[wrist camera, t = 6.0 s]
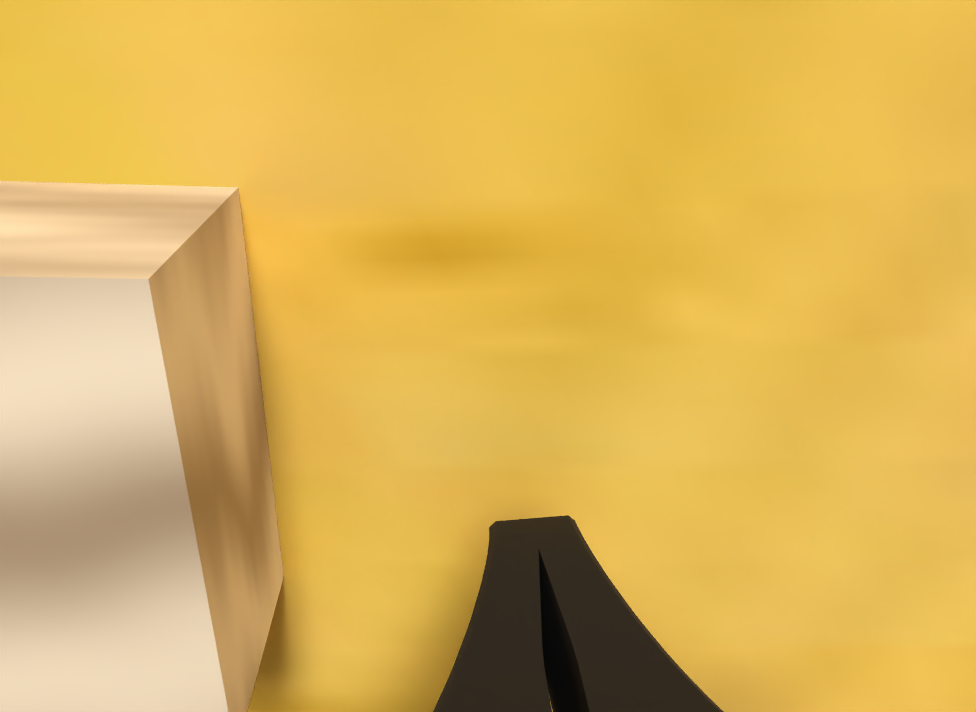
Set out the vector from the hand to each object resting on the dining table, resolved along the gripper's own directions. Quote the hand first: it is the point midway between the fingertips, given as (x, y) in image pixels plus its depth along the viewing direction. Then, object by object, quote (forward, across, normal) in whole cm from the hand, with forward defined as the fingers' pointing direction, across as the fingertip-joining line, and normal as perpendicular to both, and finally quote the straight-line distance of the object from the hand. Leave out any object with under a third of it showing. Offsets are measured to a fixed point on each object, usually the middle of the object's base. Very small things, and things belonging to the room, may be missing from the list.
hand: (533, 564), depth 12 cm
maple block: (+5, +9, -1) cm, 10 cm away
